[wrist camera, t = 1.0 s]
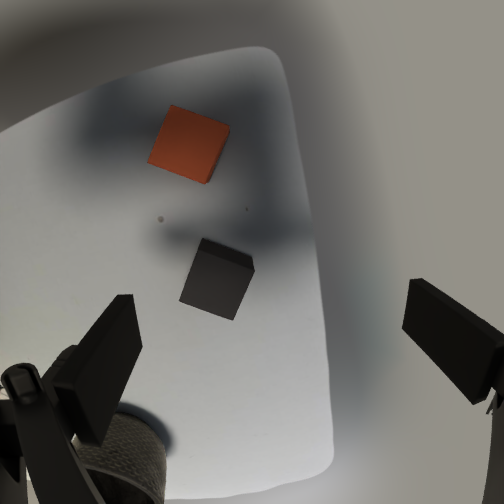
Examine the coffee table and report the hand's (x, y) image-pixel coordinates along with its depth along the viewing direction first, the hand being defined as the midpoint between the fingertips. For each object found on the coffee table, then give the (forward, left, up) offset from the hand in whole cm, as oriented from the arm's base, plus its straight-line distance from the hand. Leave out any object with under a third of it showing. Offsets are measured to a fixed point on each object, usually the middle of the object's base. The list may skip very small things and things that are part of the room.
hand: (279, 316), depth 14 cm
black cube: (+5, -2, -19) cm, 20 cm away
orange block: (-6, -9, -19) cm, 22 cm away
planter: (+34, -6, -19) cm, 40 cm away
